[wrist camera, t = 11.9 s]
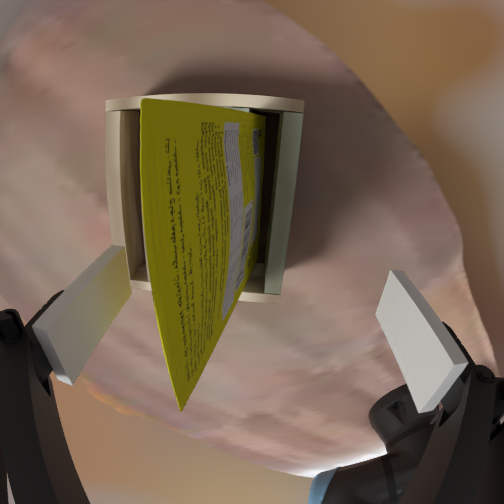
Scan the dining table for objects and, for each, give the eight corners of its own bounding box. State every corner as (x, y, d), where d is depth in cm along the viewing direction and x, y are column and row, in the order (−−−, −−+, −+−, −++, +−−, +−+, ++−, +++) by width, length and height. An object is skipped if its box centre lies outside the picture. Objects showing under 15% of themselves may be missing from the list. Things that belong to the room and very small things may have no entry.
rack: (295, 105, 24) (304, 100, 19) (276, 272, 32) (278, 303, 27) (134, 102, 24) (106, 100, 19) (139, 259, 32) (119, 286, 27)
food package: (260, 115, 25) (129, 99, 7) (272, 116, 25) (158, 95, 7) (253, 258, 31) (172, 409, 14) (262, 260, 31) (190, 415, 14)
